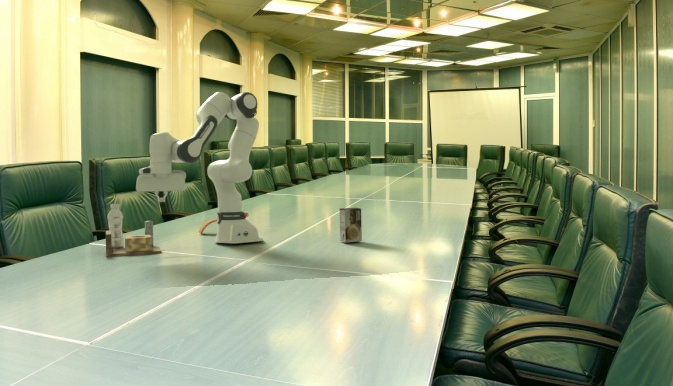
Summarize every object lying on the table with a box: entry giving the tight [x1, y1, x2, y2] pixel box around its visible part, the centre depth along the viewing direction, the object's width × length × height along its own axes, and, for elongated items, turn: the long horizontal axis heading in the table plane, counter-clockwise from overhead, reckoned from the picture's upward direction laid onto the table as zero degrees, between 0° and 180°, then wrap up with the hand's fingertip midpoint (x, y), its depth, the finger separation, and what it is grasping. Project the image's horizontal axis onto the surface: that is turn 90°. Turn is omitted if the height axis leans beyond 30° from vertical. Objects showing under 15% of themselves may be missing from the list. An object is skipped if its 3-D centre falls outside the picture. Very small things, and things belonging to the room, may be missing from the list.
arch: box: [198, 218, 217, 235], centre depth 259 cm, size 6×20×10 cm, turn 117°
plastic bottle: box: [106, 203, 125, 249], centre depth 222 cm, size 6×7×20 cm
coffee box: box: [339, 207, 363, 244], centre depth 238 cm, size 9×6×16 cm
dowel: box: [144, 220, 154, 247], centre depth 223 cm, size 4×4×12 cm
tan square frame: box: [124, 234, 152, 252], centre depth 209 cm, size 10×10×6 cm
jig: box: [105, 230, 162, 258], centre depth 208 cm, size 21×16×9 cm
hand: (161, 201), depth 212 cm, fingers closed
